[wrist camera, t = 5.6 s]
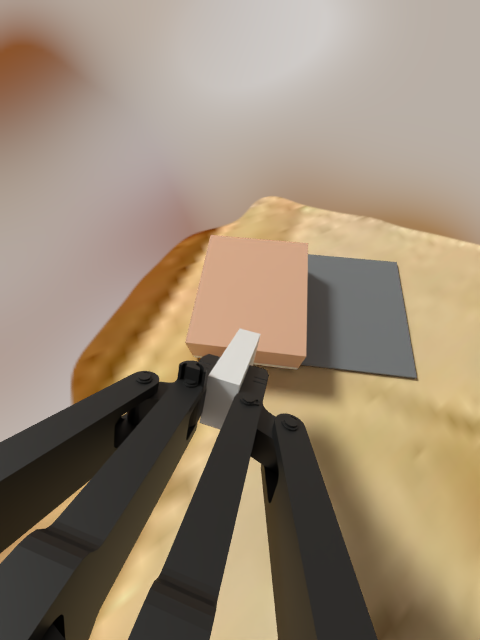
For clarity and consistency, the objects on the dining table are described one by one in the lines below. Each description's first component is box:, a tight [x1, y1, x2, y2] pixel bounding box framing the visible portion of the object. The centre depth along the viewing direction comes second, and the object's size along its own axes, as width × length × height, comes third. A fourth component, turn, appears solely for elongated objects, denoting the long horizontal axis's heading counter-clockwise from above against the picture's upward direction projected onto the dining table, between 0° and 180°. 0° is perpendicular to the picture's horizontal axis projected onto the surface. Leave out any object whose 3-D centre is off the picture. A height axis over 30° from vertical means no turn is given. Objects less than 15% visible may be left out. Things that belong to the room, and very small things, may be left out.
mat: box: [301, 254, 417, 378], centre depth 27 cm, size 14×20×1 cm
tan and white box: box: [185, 235, 308, 370], centre depth 25 cm, size 4×10×12 cm
